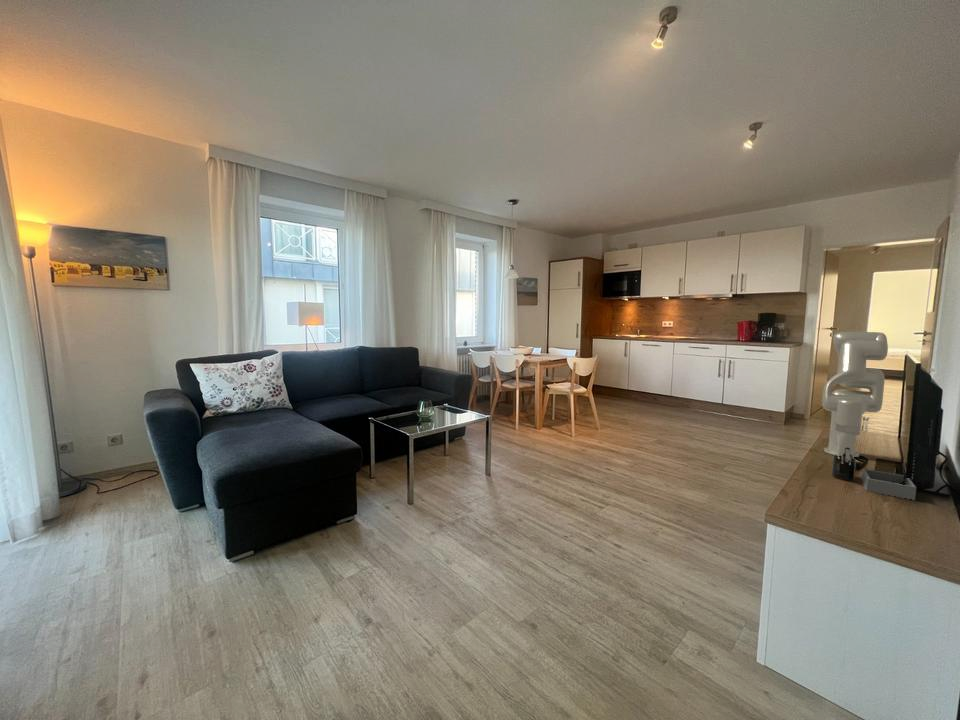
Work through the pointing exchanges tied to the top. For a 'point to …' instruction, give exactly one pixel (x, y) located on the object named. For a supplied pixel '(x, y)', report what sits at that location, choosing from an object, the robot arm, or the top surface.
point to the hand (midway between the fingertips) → (843, 470)
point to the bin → (888, 484)
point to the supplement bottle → (837, 466)
